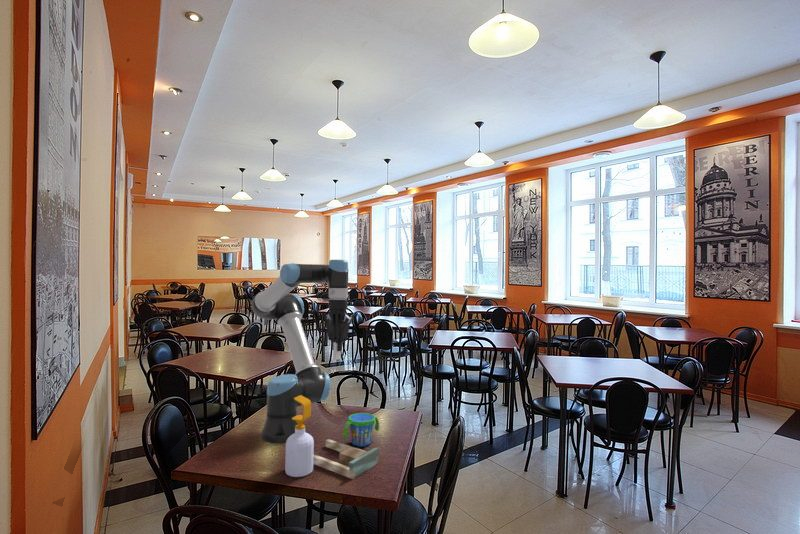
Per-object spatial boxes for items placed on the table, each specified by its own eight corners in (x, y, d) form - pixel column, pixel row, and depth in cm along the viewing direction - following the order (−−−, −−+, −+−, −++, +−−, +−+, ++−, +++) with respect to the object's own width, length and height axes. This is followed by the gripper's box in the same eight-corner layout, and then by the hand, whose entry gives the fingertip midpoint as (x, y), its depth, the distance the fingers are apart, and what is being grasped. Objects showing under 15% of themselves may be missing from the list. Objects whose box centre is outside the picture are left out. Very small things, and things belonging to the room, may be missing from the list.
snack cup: (372, 434, 167) (372, 409, 168) (385, 443, 159) (386, 417, 159) (337, 442, 159) (337, 416, 159) (349, 453, 150) (349, 425, 150)
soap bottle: (296, 462, 142) (297, 391, 142) (318, 467, 138) (319, 395, 139) (279, 474, 134) (280, 399, 134) (302, 480, 130) (304, 402, 130)
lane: (300, 459, 145) (300, 444, 145) (328, 445, 156) (328, 432, 156) (352, 479, 131) (353, 463, 131) (378, 462, 143) (378, 448, 143)
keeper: (339, 466, 140) (339, 453, 140) (350, 459, 145) (350, 447, 145) (355, 471, 137) (355, 458, 137) (366, 464, 142) (366, 451, 142)
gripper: (319, 298, 161) (318, 358, 160) (344, 300, 153) (343, 363, 153) (332, 297, 167) (331, 355, 167) (357, 299, 160) (355, 359, 159)
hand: (336, 358), depth 160 cm, fingers closed
